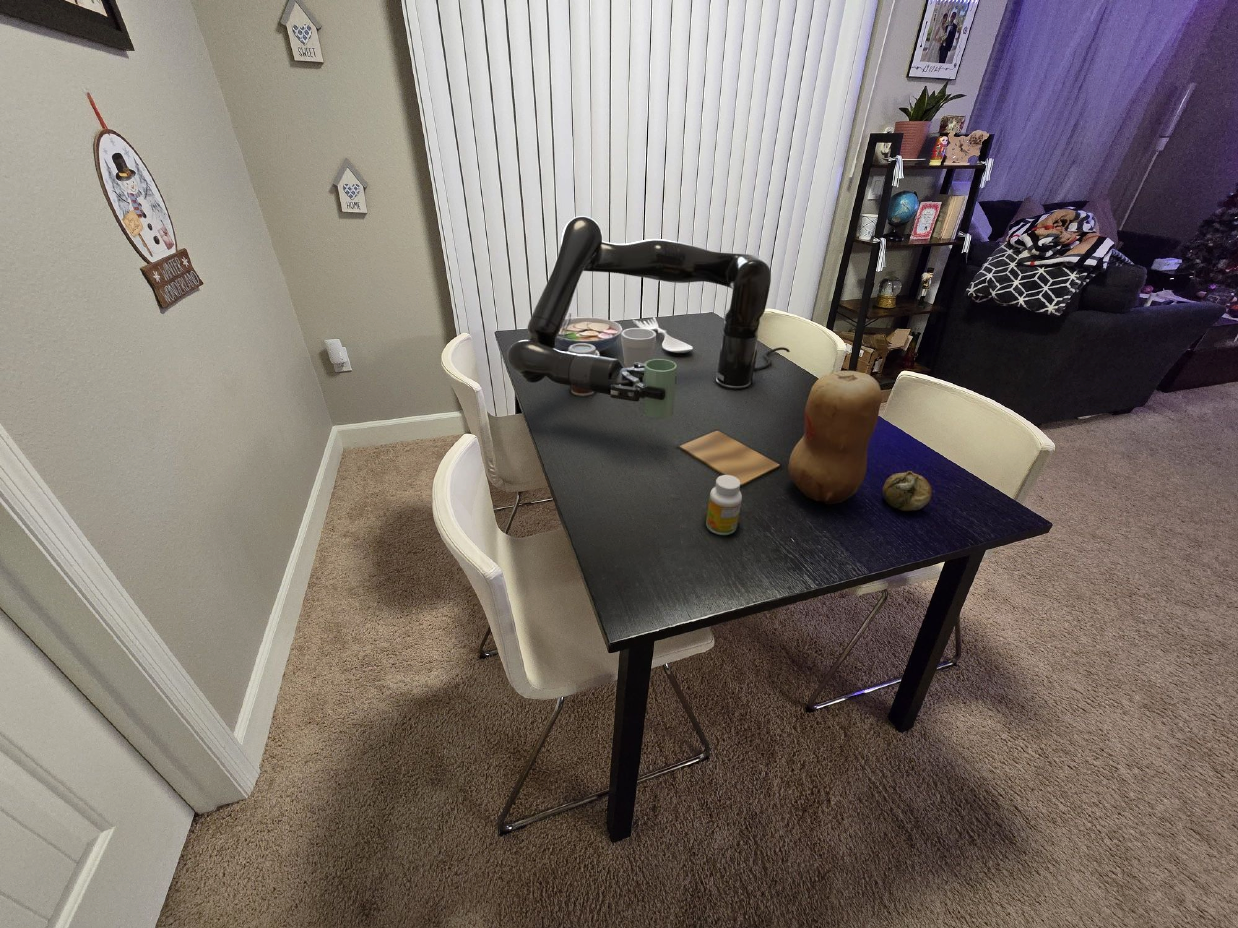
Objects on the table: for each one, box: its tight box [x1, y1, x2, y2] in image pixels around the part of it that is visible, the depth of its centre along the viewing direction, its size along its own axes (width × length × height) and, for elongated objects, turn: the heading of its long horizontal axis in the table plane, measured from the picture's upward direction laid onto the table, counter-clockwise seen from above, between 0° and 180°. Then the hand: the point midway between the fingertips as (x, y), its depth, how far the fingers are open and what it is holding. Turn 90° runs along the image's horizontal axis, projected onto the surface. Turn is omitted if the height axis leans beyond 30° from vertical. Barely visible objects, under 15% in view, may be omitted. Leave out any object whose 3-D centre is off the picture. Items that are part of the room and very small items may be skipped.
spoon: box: [632, 316, 694, 354], centre depth 167 cm, size 9×32×4 cm, turn 22°
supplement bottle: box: [705, 474, 743, 536], centre depth 86 cm, size 5×5×10 cm
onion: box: [882, 470, 933, 512], centre depth 92 cm, size 8×8×8 cm
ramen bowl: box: [556, 312, 623, 353], centre depth 157 cm, size 25×23×8 cm
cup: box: [642, 358, 678, 420], centre depth 102 cm, size 6×6×10 cm
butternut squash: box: [787, 370, 883, 505], centre depth 90 cm, size 14×13×25 cm
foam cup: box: [620, 327, 657, 380], centre depth 139 cm, size 10×9×13 cm
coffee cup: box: [566, 343, 601, 397], centre depth 132 cm, size 9×9×12 cm
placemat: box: [678, 430, 781, 487], centre depth 108 cm, size 18×12×1 cm, turn 37°
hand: (670, 387), depth 101 cm, fingers closed on cup, 6 cm apart
